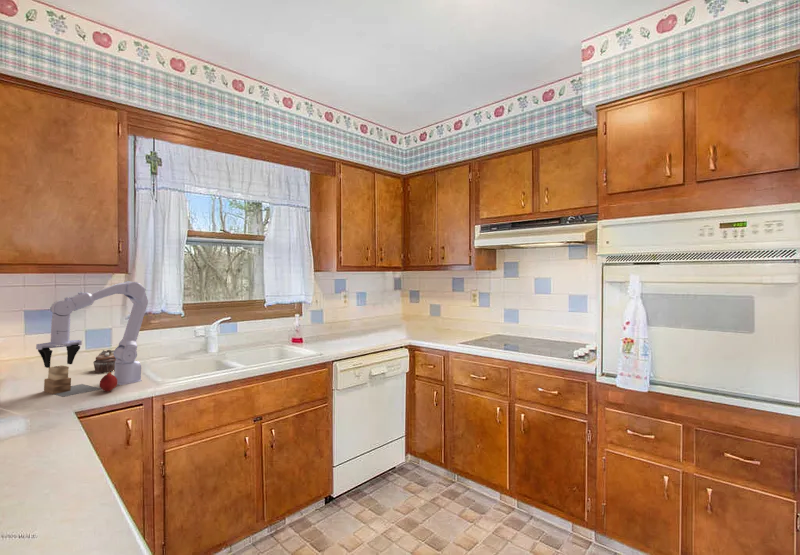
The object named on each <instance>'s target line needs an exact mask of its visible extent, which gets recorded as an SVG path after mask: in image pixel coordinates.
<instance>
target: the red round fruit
mask: <svg viewBox="0 0 800 555" xmlns="http://www.w3.org/2000/svg"><path fill="white" fill-rule="evenodd" d="M117 386H118V385H117V378H116V377H115V376H114V374H112V372H108V373H106V374H105V375H104V376H102V378H101V379H100V381H99V388H101V389H100V390H101V391H105V392H106V393H107V392H108V393H109V392H111V391H112V390H114V389H115V388H116V387H117Z"/></svg>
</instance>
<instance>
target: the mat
mask: <svg viewBox="0 0 800 555" xmlns="http://www.w3.org/2000/svg"><path fill="white" fill-rule="evenodd" d="M99 390H102V389H101V387H98V386H92V385H90V384H89V385H88V384H84V383H81V384H75V385H74V384H73V385H71V391H66V392H61V393H56V394H53V396H58V397H62V398H65V397H71V396H74V395H75V396H76V395H80V394H85V393H89V392H94V391H99ZM42 392H43V393H45V392H44V390H43V391H42Z"/></svg>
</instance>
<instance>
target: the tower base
mask: <svg viewBox="0 0 800 555" xmlns="http://www.w3.org/2000/svg"><path fill="white" fill-rule="evenodd" d="M71 386H72V383H71V384H70V385H64V386H59V387H54V388H53V387H49V386H45V385H44V384H43V391H44V392H43V393H47V394H50V395H54V394H56V393H61V392H66V391H71Z"/></svg>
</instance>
